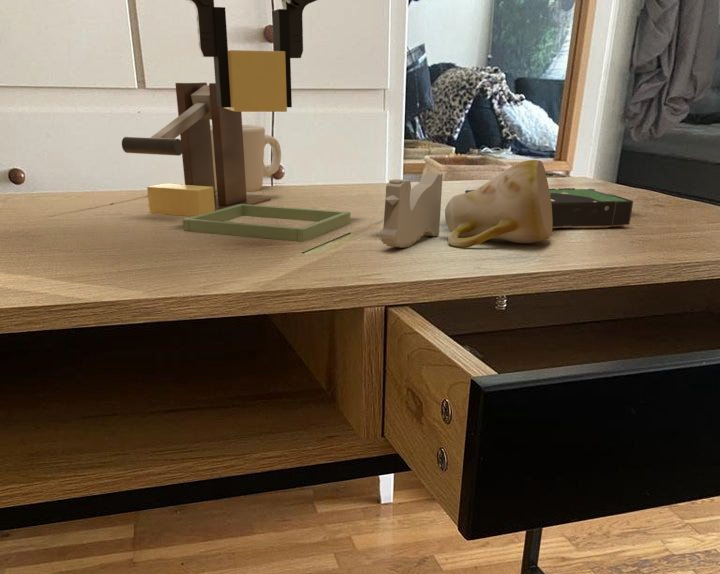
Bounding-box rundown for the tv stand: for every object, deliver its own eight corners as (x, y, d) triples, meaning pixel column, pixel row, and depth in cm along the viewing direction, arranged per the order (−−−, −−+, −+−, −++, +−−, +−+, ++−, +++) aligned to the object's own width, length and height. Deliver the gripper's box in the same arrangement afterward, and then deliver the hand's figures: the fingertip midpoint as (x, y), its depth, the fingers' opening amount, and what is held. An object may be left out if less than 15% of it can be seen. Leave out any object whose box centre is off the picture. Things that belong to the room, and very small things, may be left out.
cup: (264, 189, 102) (260, 123, 98) (298, 195, 97) (296, 126, 93) (192, 195, 96) (185, 125, 92) (224, 203, 91) (219, 129, 87)
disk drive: (492, 233, 75) (631, 227, 78) (494, 203, 74) (636, 198, 76) (461, 216, 84) (587, 211, 87) (463, 189, 83) (590, 185, 85)
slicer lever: (178, 163, 72) (171, 137, 70) (126, 160, 74) (117, 135, 72) (243, 110, 80) (238, 85, 78) (194, 108, 82) (188, 84, 80)
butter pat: (287, 111, 58) (285, 51, 56) (234, 111, 57) (230, 50, 55) (272, 108, 63) (270, 52, 61) (223, 108, 62) (219, 51, 60)
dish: (184, 241, 70) (182, 219, 69) (241, 224, 78) (240, 203, 77) (303, 253, 66) (303, 229, 65) (350, 233, 74) (350, 211, 73)
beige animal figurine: (438, 236, 74) (391, 253, 66) (425, 234, 74) (377, 251, 67) (442, 172, 71) (394, 182, 63) (429, 171, 72) (379, 181, 64)
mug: (444, 232, 76) (502, 138, 72) (522, 287, 74) (587, 193, 70) (420, 224, 69) (483, 120, 65) (506, 284, 67) (576, 180, 63)
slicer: (225, 223, 79) (214, 83, 73) (160, 217, 82) (145, 82, 76) (271, 209, 87) (265, 82, 81) (211, 204, 90) (201, 82, 84)
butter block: (150, 222, 79) (146, 186, 77) (168, 218, 81) (164, 183, 80) (200, 227, 77) (197, 190, 75) (216, 222, 79) (213, 186, 78)
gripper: (346, -263, 54) (345, 104, 65) (94, -295, 50) (139, 104, 61) (378, -307, 48) (372, 108, 59) (93, -348, 43) (144, 109, 54)
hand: (254, 105), depth 60 cm, fingers closed on butter pat, 4 cm apart
